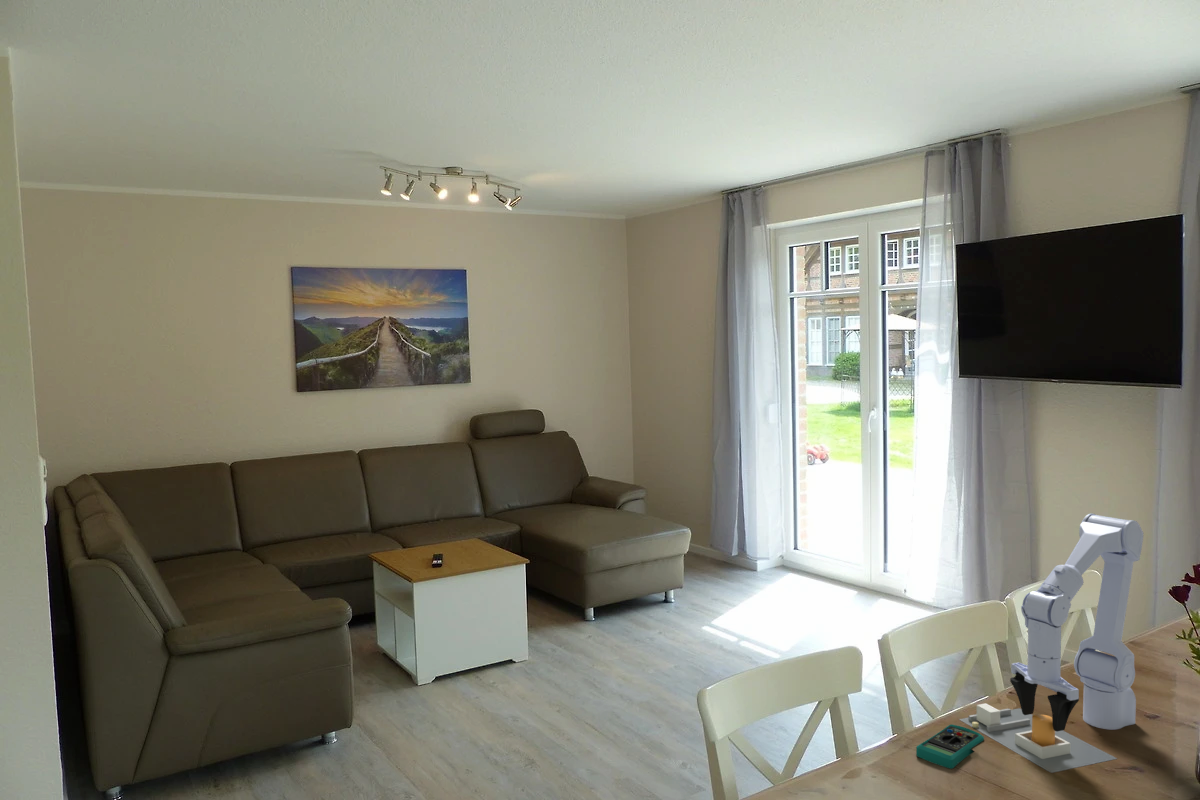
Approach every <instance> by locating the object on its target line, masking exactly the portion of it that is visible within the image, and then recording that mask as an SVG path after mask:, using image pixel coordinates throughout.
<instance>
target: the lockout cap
mask: <svg viewBox="0 0 1200 800" xmlns="http://www.w3.org/2000/svg"><path fill="white" fill-rule="evenodd" d="M1032 715H1033V716H1032V741H1033V742H1034V743H1036V744H1038V745H1040V746H1042V747H1045V746H1050V745H1055V731H1054V729H1053V722H1052V716H1050V715H1046V714H1041V713H1040V714H1039V713H1038V714H1036V713H1035V714H1032Z"/></svg>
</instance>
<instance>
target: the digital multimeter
mask: <svg viewBox="0 0 1200 800" xmlns="http://www.w3.org/2000/svg"><path fill="white" fill-rule="evenodd" d="M983 741H985V737H984V735H982V733H980V732H978V731H974V730H972V729H970V728H967V727H964V726H961V725H956V724H949V725H947V726H946V727H945V728H943V729H942V730H940V731H939V732H937V733H935V734H934V735H932V736H931V737H929V738H928V739H927V740H925V741H923V742H921V743H920V744H918V745H916V747H915V748H916V749H915V750H916V753H915V754H916V755H915V756H916V757H917V758H920V759H922V760H924V761H927V762H929V763H932V764H935V765H938V766H940V767H943V768H947V769H949V770H950V769H954V768H955V767H956V766H957V765H958V764H959V763H961V762H962V761H964V759H967V757H968V756H970V755H971V754H973V753H974V752H975V750H973V748H974V747H976V746H977V745H978V744H981V743H982V742H983Z"/></svg>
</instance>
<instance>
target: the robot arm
mask: <svg viewBox="0 0 1200 800" xmlns="http://www.w3.org/2000/svg"><path fill="white" fill-rule="evenodd" d="M1078 531H1079V532H1078V534H1079V540H1078V542H1077V543H1076V545H1075V546H1074V548H1073V550H1072V551H1071V553H1070V555H1069V556H1068V558H1067V560H1066V561H1065V563H1064V564H1058V565H1055V566H1054V567H1053V569H1052V570H1051V572H1050V573H1049V574H1048V575H1047V577H1046V578H1045V579H1044V580H1043V582H1042V583H1041V584H1040V586H1039V587H1038V588H1037V590H1033V591H1030V592H1027V594H1025V596H1024V597H1023V601H1022V605H1021V606H1020V609H1021V614H1022V616H1023V619H1024V626H1025V628H1027V664H1024V663H1022V662H1013V663H1010V664H1011V665H1010V666H1011V667H1010V668H1011V669H1010V671H1011V674H1012V675H1014V676H1013V677H1011V678H1010V679H1009V682H1010V683H1011V686H1012V687H1013V689H1014V691H1015V693H1016V695H1017V698H1018V701H1019V705H1020V709H1022V713H1023V714H1024V715H1029V714H1032V715H1034V711H1035V699H1036V692H1037V688H1038V686H1043V687H1045V688H1047V689H1048V690H1051V691H1053V692H1055V694H1051V695H1047V699H1048V703H1049V705H1050V709H1051V717H1052V722H1053V729H1054V731H1062V730H1063V731H1065V730H1066V726H1067V722H1068V720H1069V717H1070V715H1071V713H1072V711H1073V709H1074V708H1075V706H1076V705H1077V704H1078V702H1079V701H1080V697H1079V696H1080V695H1079V693H1080V690H1079V688H1077V687H1075V686H1074V685H1072V684H1071V683H1069V682H1068V681H1067V680H1065V679H1064V678H1063V677H1062V676H1061V672H1062V670H1061V669H1062V668H1061V665H1062V664H1061V661H1062V659H1061V658H1062V657H1061V656H1062V654H1061V653H1062V652H1061V651H1062V626H1063V625H1064V623H1066V622H1067V619H1068V616H1069V613H1070V609H1071V606H1072V600H1073V599H1074V598H1075V596H1076V595H1077V593H1078V592H1079V591H1080V590H1081V588H1082V586H1083V585H1084V578H1083V575H1084V573H1086V572H1087V570H1088V569H1089V568H1090V567H1091V566H1092V565H1093V564H1094V563H1095V562H1096V561H1097V560H1098V558H1099V557H1100V556H1101V559H1102V560H1103V561H1104V565H1103V570H1102V577H1101V583H1100V590H1099V597H1098V602H1097V603H1098V604H1097V609H1096V616H1095V623H1094V628H1093V629H1094V630H1093V635H1092V636H1089V637H1088V638H1085V639H1083V640H1081V641H1080V643H1079V647H1078V651H1077V653H1076V654H1075V657H1074V661H1073V668H1074V671H1075V673H1076V675H1077V676H1078V677H1080V678H1079V679H1080V682H1081V683H1083V695H1082V696H1083V698H1082V699H1083V703H1082V720H1083V721H1084V722H1085V723H1086V724H1088V725H1090V726H1092V727H1096V728H1098V729H1103V730H1120V729H1122V728H1124V727H1127V726H1131V725H1135V724H1136V714H1137V713H1136V710H1137V709H1136V708H1137V699H1136V694H1135V693H1134V691H1133V689H1132V688H1131V686H1132V685H1133V683H1134V682H1135V679H1136V678H1135V677H1136V670H1135V654H1134V653H1133V652H1132V651H1131V649H1129V648H1128V646H1127V645H1126V644H1125V643H1124V642H1123V641H1122V639H1123V634H1124V627H1125V621H1126V614H1127V608H1128V602H1129V595H1130V589H1131V588H1130V587H1131V583H1132V582H1131V580H1132V575H1133V574H1132V573H1133V569H1134V563H1135V562H1139V561H1140V559H1141V555H1142V548H1143V542H1144V535H1145V534H1144V531H1143V529H1142V527H1141V525H1140V523H1139V522H1138V521H1137V520H1134V519H1124V518H1123V519H1122V518H1117V517H1111V516H1104V515H1098V514H1095V513H1093V512H1092V513H1088V514H1086V515H1085V516H1084V517H1083V519H1082V520H1081V523H1080V524H1079V530H1078Z"/></svg>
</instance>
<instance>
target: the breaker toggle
mask: <svg viewBox="0 0 1200 800" xmlns="http://www.w3.org/2000/svg"><path fill="white" fill-rule="evenodd" d="M999 710H1000V709H997V708H995V707H993V706H992V705H990V704H988V703H987V702H986V703H980V704H976V714H977V715H976V720H978V721H979V722H981V723H983V724H985V725H986V726H990V725H995V724H1000V711H999Z"/></svg>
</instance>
